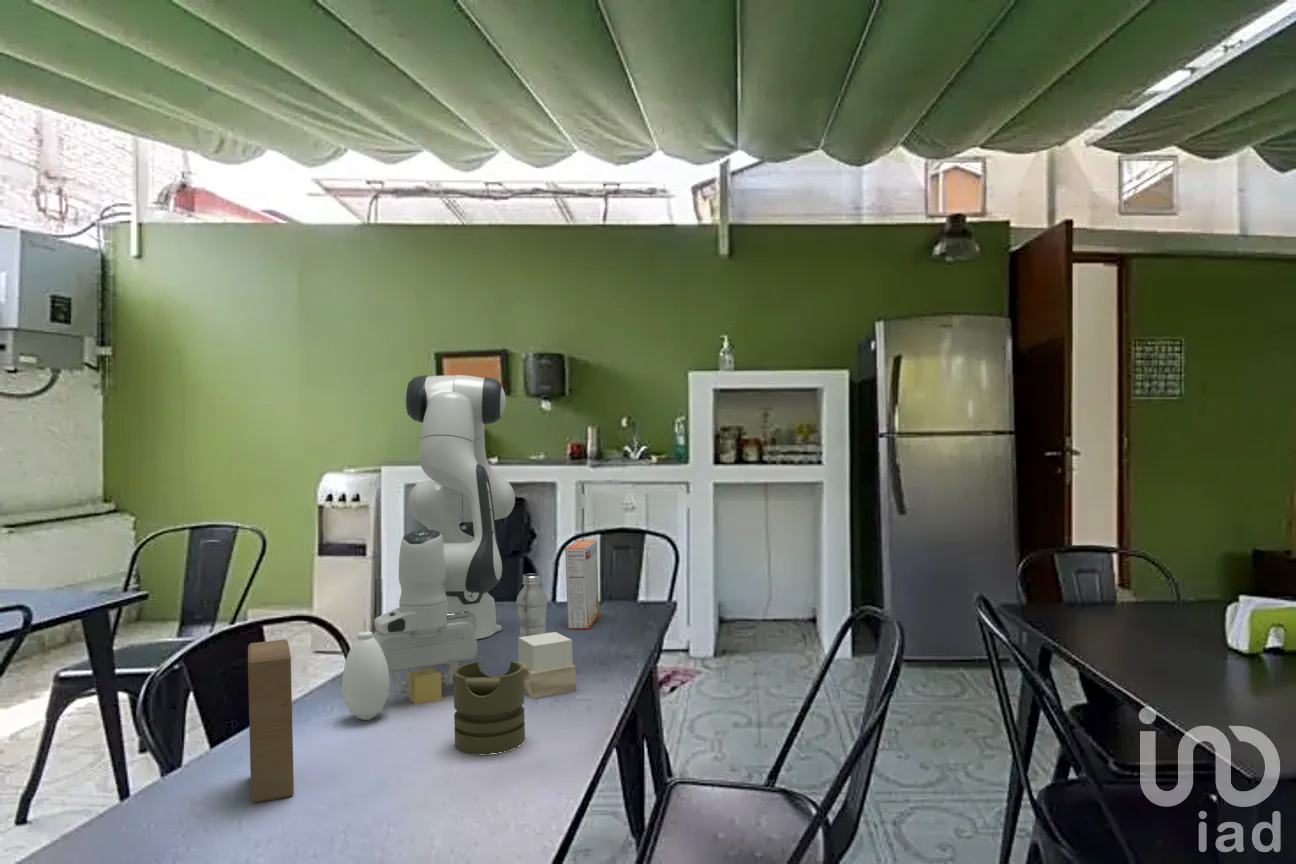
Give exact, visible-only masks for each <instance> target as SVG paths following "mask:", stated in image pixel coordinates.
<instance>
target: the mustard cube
mask: <svg viewBox="0 0 1296 864" xmlns="http://www.w3.org/2000/svg"><path fill="white" fill-rule="evenodd" d="M407 681H408V683H407V689H408V698H409V697H410V698H411V699H412V700H411V699H410V698H409V699H410V700H411V701H412V702H413V704H414V705H417V703H418V704H424V703H429V701H430V702H435V700H436V701H441V700H443V696H442V693H443V692H442V673H441V672H440V671H439V670H438V669H436V668H435V667H429V668H421V669H416V670H414V669H413V670H410V671H408V672H407ZM423 702H424V703H423Z"/></svg>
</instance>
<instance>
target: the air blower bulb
mask: <svg viewBox="0 0 1296 864" xmlns="http://www.w3.org/2000/svg"><path fill="white" fill-rule="evenodd" d="M373 634H374V633H373V632H372V631H367V620H366V618H365V617H364V618H363V630H362V631H360V632H358V633H357V635H356V637H357V638H356V640H354V642H353V643H352V645H351V647H350V649H349V651H348V654H347V656H346V659H345V662H344V667H343V670H342V671H343V673H342V682H341V683H342V696H343V700H344V703H345V705H346V707H347V709H348V711H349V712H350V714H352V715H355V716H356V718H357V719H360V720H363V721H369V720H372V719H373V718H374V717H376V716H378V713H379V712H381V711H382V710H383V709H384V707H385V705H386V702H387V701H388V696H389V693H390V672H389V670H388V665H387V662H386V658H385V656H384V653H383V651H382V649H381V647H380V645H379V644H378V642H377V641H376V640H375V639H374V638H373V637H372V636H373Z"/></svg>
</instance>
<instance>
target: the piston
mask: <svg viewBox="0 0 1296 864" xmlns="http://www.w3.org/2000/svg"><path fill="white" fill-rule="evenodd" d="M452 678H453V709H455V710H456V711H455V712H454V715H453V716H454V719H453V722H454V747H455V749H456V750H457V751H458V750H459V751H458V752H460V751H461V752H460V753H463V754H466V753H468V754H467V755H471V754H491V753H499V752H504V751H508V750H511V749H513V748H516V747H518V746H519V745H521V744H522V743H523V742H524V740H525V741H526V727H525V723H526V722H525V716H526V715H525V707H524V706H523V705H524V703H525V693H524V667H523V665H522V664H521V663H518V661H514V660H510V667H509V669H508V670H507V672H505V673H504V674H500V675H498V676H497V675H495V676H494V675H490V674H488V673H487V672H484V671H483V670H482V669H481V667H480V664H479V661H472V662H468V663H467V662H466V663H465V664H464V663H463V664H461V665H458V667H457V668H456V669H454V671H453V676H452ZM524 743H525V742H524ZM524 743H523V744H524ZM523 744H522V745H523ZM522 745H521V746H522ZM518 748H519V747H518ZM516 749H517V748H516ZM511 751H512V750H511ZM508 752H509V751H508Z"/></svg>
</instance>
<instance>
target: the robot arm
mask: <svg viewBox="0 0 1296 864" xmlns="http://www.w3.org/2000/svg"><path fill="white" fill-rule="evenodd" d="M506 397H507V396H506V393H505V390H504V388H503V384H502V383H501V382H500V381H499V380H498V379H495V378H493V377H488V376H485V377H479V376H474V375H473V376H472V375H463V374H456V375H452V374H451V375H450V374H449V375H432V376H431V375H430V376H429V375H427V374H426V375H419V376H414V377H413V378H411V380H410V381H409V382H408V384H407V386H406V389H405V392H404V398H403V399H404V407H405V409H406V413H407V415H408V416H409V417H410V418H411V420H413V421H415V422H419V423H422V426H421V432H420V439H419V440H420V441H419V452H418V454H419V465H420V467H421V469H422V471H423V472H424V474H426V476H427V477H428V478H429V480H426V481H425V480H424V481H421V482H417V483H416V484H415V485H414V486H413V487H412V489H411V490H410V492H409V495H408V508H409V511H410V513H411V515H412V517H413V518H414V519H415V520H416V521H418V523H421V524H422V525H423V526H424V527H426V529H420V530H418V529H417V530H414V531H411V532H408V533H406V534H404V536H402V538H401V542H400V548H399V555H398V557H399V558H398V582H399V584H400V589H401V590H400V596H399V602H398V605H399V607H397V608H394V609H392V610H391V611H388V612H386V613H383V614H381V615H379V616H376V617H375V618H374V620H373V621H374V626H375V629H376V631H374V633H373V636H372V637H373V638H374V639H375V640H376V641H377V642H378V644H379V645H380V647H381V649H382V651H383V653H384V656H385V658H386V662H387V665H388V670H389V673H390V676H391V677H392V679H393V680H394V682H395V683H396V692H397V694H399V695H401V694H405V693H407V692H408V690H407V689H408V683H407V682H405V680H404V681H401V680H400V676H401V671H403V670H409V669H411V670H412V669H416V668H417V669H418V668H422V667H423V668H424V667H429V666H436V665H442V664H447V665H448V666H449V668H448V670H447V673H446V674H443V675H442V685H443V686H444V687H447V686H453V685H454V678H453V671H454V669H456V668H457V667H459V662H464V661H468V660H469V661H470V660H475V658H476V656H477V655H478V651H479V650H478V642H477V640H478V639H479V640H480V639H484V638H487V637H490V636H493V635H494V634H495V633H497V632H500V631H502V630H503V627H502V625H501V624H498V623H497V616H496V605H495V603H496V602H495V598H494V597H493V596H492V595H490V594H489V592H490V591H491V590H492V589H493V588H495V586H497V585H498V583H499V582H500V581H501V579H502V573H503V563H502V557H501V554H500V547H499V543H498V536H497V529H496V520H500V519H501V520H502V519H504V518H507V517H508V516H509V515H510V514H511V513H512V511H513V509H514V507H515V504H516V495H515V490H514V488H513V486H512V485H511V483H510V482H509V481H508V480H507V479H504V478H503V477H501V476H500V475H498V473H497V472H495V470H494V469H493V468H492V467H491V465H490V464H489V461H488V459H487V453H486V445H485V444H486V442H485V441H486V439H485V425H488V424H494V423H497V422H498V421H499V420H500V419H501V418H502V415H503V413H504V411H505V409H506V404H507V403H506V402H507V401H506V400H507V398H506ZM461 523H472V527H473V535H474V536H472V535H470V534H468V533H465V532H464V531H462V530H461V527H460V524H461Z"/></svg>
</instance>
